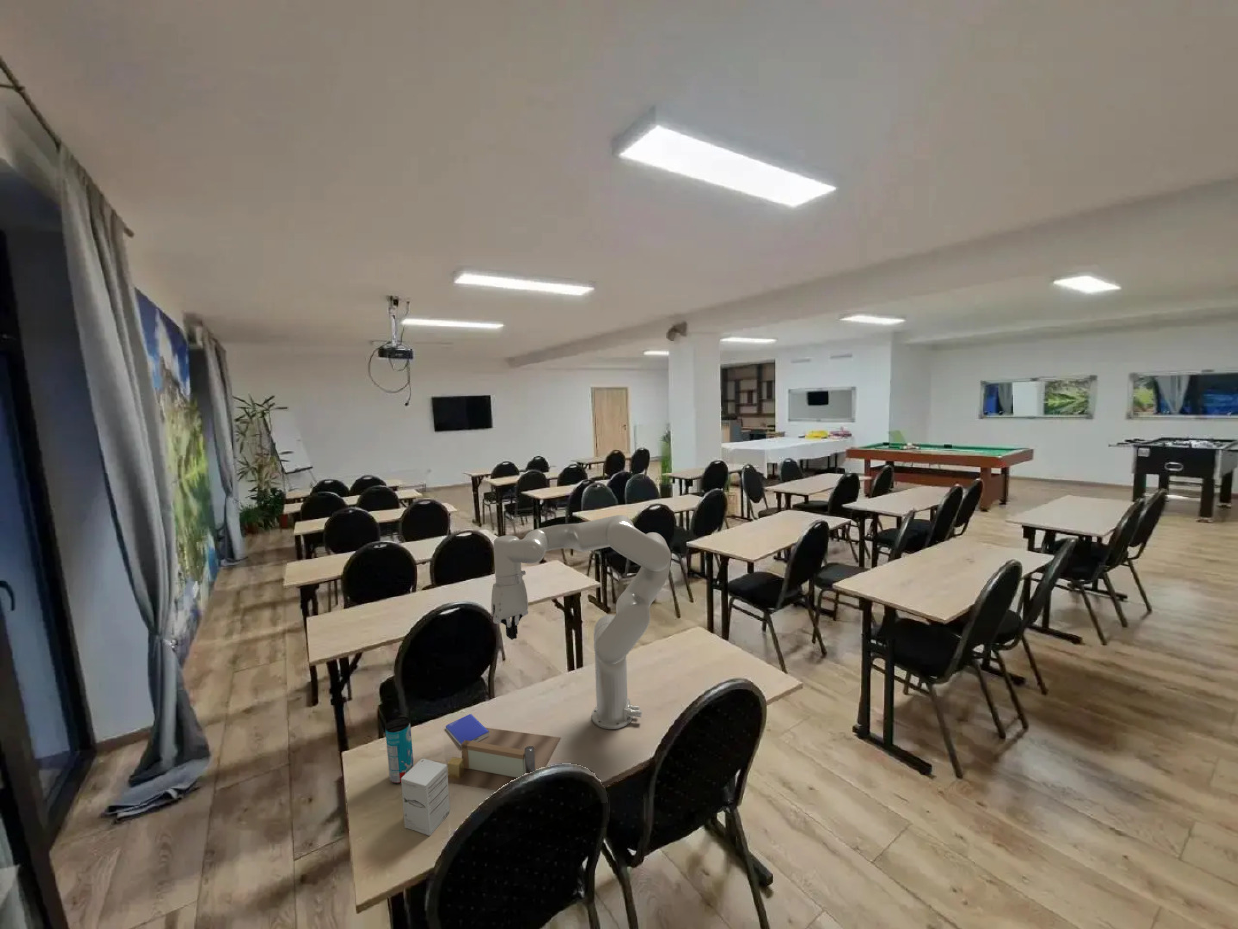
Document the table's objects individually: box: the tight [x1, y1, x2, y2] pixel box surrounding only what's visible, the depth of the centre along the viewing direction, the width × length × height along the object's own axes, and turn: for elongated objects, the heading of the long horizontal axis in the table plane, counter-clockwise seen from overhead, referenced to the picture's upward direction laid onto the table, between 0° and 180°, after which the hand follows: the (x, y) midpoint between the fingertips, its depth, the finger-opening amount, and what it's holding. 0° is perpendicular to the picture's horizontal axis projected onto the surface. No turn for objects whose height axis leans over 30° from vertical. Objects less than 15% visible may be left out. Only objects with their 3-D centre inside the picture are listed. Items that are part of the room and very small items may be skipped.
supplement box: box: [400, 757, 451, 836], centre depth 116 cm, size 7×7×13 cm
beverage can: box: [384, 716, 415, 785], centre depth 130 cm, size 6×6×15 cm
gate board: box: [448, 727, 562, 791], centre depth 136 cm, size 24×22×1 cm
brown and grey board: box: [460, 740, 526, 778], centre depth 131 cm, size 18×2×7 cm, turn 75°
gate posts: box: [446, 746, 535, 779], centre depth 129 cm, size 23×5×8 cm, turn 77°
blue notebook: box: [445, 713, 490, 747], centre depth 148 cm, size 2×8×12 cm
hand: (512, 637), depth 150 cm, fingers closed
